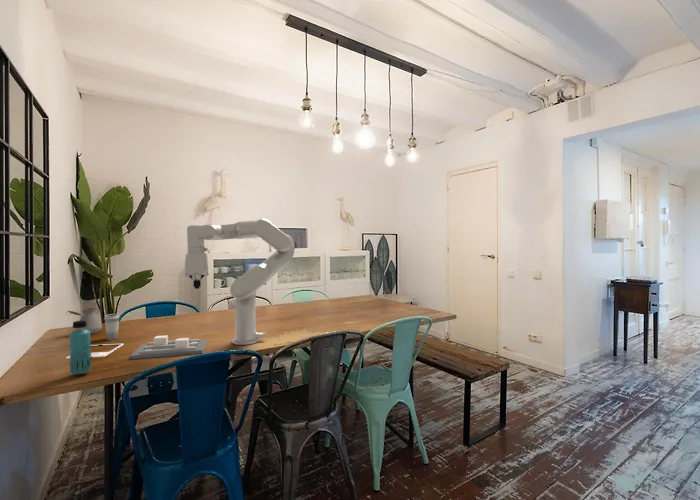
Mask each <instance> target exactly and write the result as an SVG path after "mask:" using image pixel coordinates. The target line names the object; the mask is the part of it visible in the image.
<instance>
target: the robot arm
mask: <svg viewBox="0 0 700 500" xmlns="http://www.w3.org/2000/svg"><path fill="white" fill-rule="evenodd" d="M186 237H187V238H186V239H187V241H186V242H187V243H186V244H187V253H186V254H185V259H184V260H185V261H184V277H185V278H189V279H191V280H192V281H193V288H194V290H195V289H196V290H197V289H200V288H201V283H202V282H201V280H202V279H203V278H204V277H208V276H209V275H210V274H209V262H208V255H207V253H206V252H208V251H209V249H208V247H205V241H220V240H221V241H222V240H232V239H233V240H237V239H238V240H241V239H254V238H255V239H256V238H260V239H262V241H264V242H265V243H267V244H268V245H269V246H271V247H272V248H273V249H275V250H276V251H275V252H273V254H271V255H270V256H269V257H268V258H266V259H265V260H264V261H262V262H261V263H259V264H257V265H253V266H252V267H251V268H249V269H248V270H247V271H246V272H244V274H242V275H241V276H239V277H238V278H237V279H235V281H233V282H232V283H231V285H230V288H229V290H230V291H229V292H230V295H231V296H232V297H233V298H234V299H235V305H234V308H235V309H234V328H235V329H234V330H235V331H234V338H232V340H231V343H232V344H234V345H237V346H238V345H239V346H245V345H253V344H255V343H257V342H259V341H260V340H259V338H265V337H266V333H265V332H257V330H256V297H257V295H256V294H257V290H259V289H260V288H262V286H264V285H265V284H267V283H268V282H269V281H270V280H271V279H272V278H273V277H275V275H276V274H277V273H279V272H280V271H281V270H283V268H285V267H286V266H287V265H288V264H289V263H290V262H291V260H292V259H293V258H294V255H295V247H296V246H295V242H294V239H293V238H292V236H290V235H289V234H286V233H284V232H283V231H282V230H281V229H279V228H278V227H276V225H274V223H273V222H272V221H271V220H269V219H266V218H260V219H257V220H254V219H253V220H244V221H236V223H230V224H219V225H218V224H217V225H216V224H202V225H200V224H199V225H198V224H193V225H192V224H191V225H188V226H187V228H186ZM196 275H198V277H197V276H196Z"/></svg>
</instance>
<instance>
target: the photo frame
mask: <svg viewBox="0 0 700 500" xmlns="http://www.w3.org/2000/svg"><path fill="white" fill-rule="evenodd" d="M98 345H99V344H91V347H99V346H98ZM102 345H103V346H115V348H113V349H112V350H109V351H101V352H100V351H97V352H91V357H93V358H105V357H106V356H109V354H112V353H113V352H114V350H115V351H116V350H117V348H118V349H119V348H121V347H122V346H124V343H110V344H109V343H106V344H102ZM117 345H118V346H117ZM65 359H66V360H70V355H68V356H66V357H65Z"/></svg>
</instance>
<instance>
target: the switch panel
mask: <svg viewBox="0 0 700 500" xmlns="http://www.w3.org/2000/svg"><path fill="white" fill-rule="evenodd" d="M207 343H208V339H200V338H194V339H193V338H192V339H189V347H184V348H175V340H168V345H158V346H154V341H153V342H147V343H142V344H141V345H140V346H139V347H138V348H136V349H135V351H133V352H132V353H131V354H130V355H129V359H130V360H136V359H137V360H140V359H150V358H161V357H175V356H174V355H177V356H185V355H184V354H190V355H200V354H199V353H202V354H203V352H204V351H205V348H206V346H207ZM193 353H194V354H193Z"/></svg>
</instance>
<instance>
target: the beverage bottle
mask: <svg viewBox="0 0 700 500" xmlns="http://www.w3.org/2000/svg"><path fill="white" fill-rule="evenodd" d="M86 326H87V323H86V321H85V320H82V321H80V320H76V321H73V322H72V328H73V331H71V332H70V333H69V334H68V335H69V336H68V337H69V356H70V359H69V371H70V374H71V375H72V374H73V375H76V374H84V373H87V372H89V371H91V369H92V358H91V353H92V346H91V345H92V340H91V334H90V331H89V330H87V329H78V330H76V328H82V327H86ZM74 329H75V330H74Z"/></svg>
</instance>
